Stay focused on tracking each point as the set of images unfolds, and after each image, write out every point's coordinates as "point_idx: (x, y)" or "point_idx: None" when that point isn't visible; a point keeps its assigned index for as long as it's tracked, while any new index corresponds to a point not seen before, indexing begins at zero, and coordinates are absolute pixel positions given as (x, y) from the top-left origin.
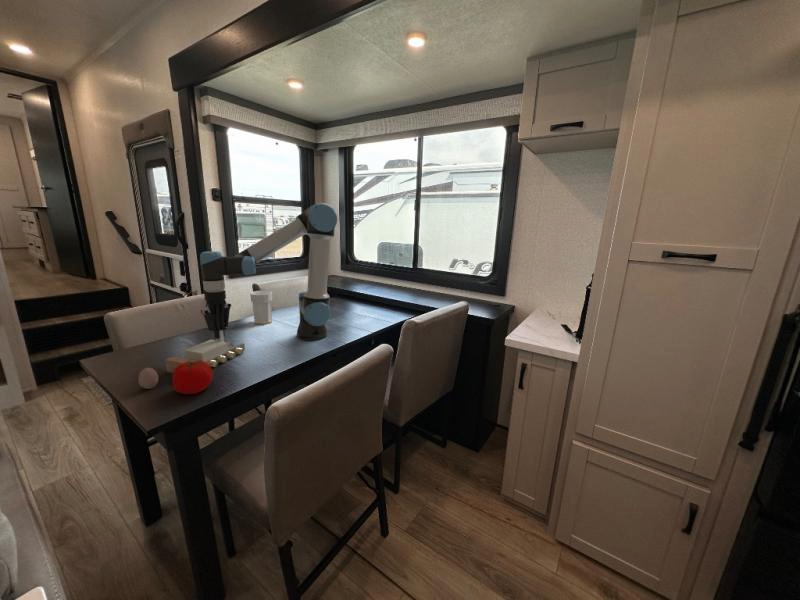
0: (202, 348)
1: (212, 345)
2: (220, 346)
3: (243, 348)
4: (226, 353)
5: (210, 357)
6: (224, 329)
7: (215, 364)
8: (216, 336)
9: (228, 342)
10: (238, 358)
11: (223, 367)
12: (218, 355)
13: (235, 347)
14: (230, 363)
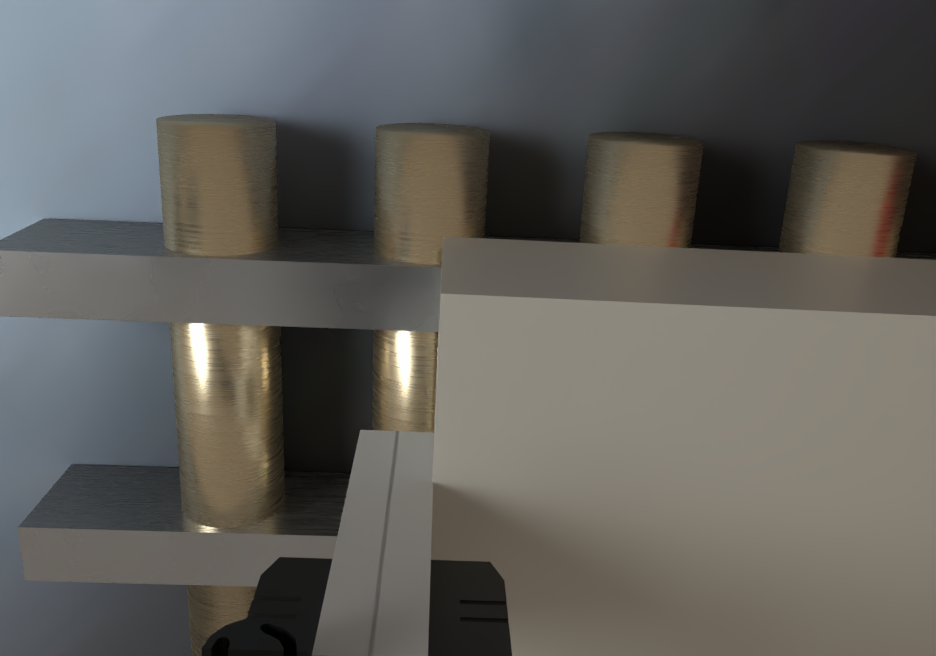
0: (901, 528)
1: (701, 473)
2: (663, 297)
3: (56, 229)
4: None
5: (885, 269)
6: (289, 631)
7: (844, 145)
8: (505, 622)
9: (83, 568)
10: (392, 48)
11: (787, 18)
12: (693, 251)
13: (220, 269)
14: (616, 25)
